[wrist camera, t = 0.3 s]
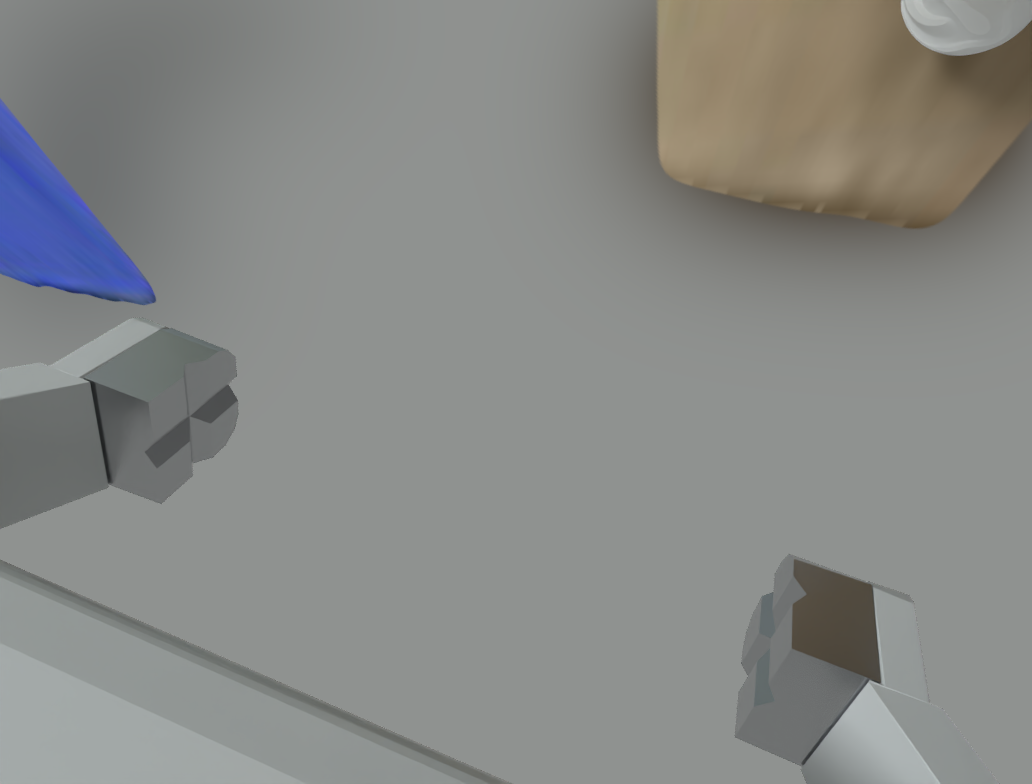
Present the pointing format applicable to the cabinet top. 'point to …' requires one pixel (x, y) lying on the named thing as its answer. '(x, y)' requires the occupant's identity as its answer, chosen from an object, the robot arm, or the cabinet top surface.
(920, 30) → the white round lump
